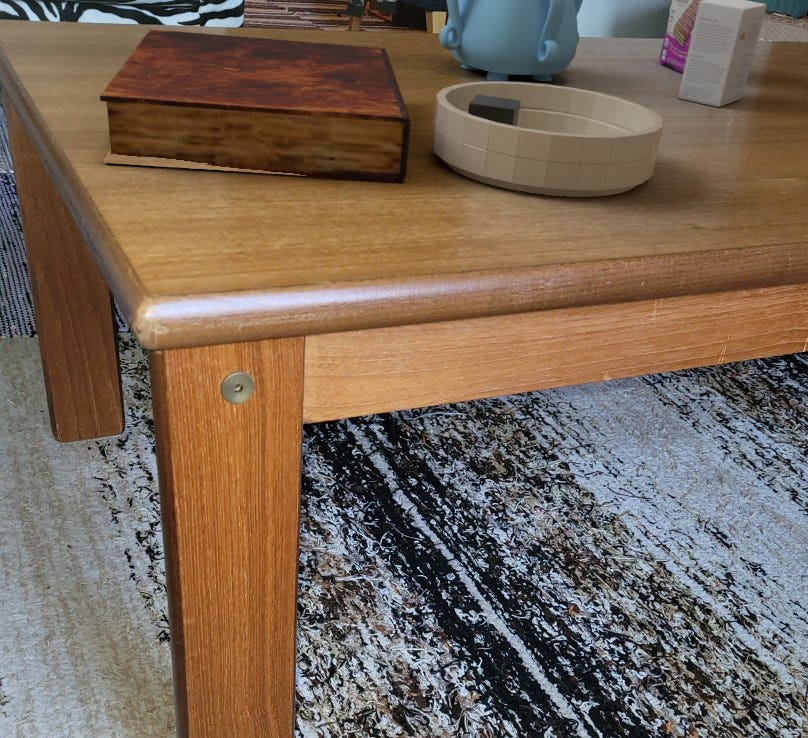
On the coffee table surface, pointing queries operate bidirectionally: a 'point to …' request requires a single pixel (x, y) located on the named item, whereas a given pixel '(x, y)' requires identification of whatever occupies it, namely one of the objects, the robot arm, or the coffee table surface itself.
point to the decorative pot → (512, 36)
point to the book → (261, 106)
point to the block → (495, 109)
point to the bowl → (548, 139)
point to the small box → (721, 51)
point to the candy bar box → (679, 33)
